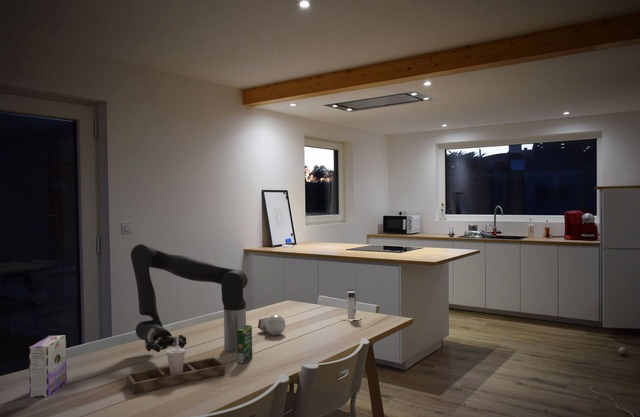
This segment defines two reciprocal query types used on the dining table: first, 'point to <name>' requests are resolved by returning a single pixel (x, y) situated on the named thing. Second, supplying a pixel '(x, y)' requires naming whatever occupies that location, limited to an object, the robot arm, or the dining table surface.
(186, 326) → the dining table surface
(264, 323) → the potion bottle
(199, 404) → the dining table surface
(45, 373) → the candy box
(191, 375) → the tray
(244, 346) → the coffee box
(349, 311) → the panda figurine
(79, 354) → the dining table surface
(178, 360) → the smoothie
